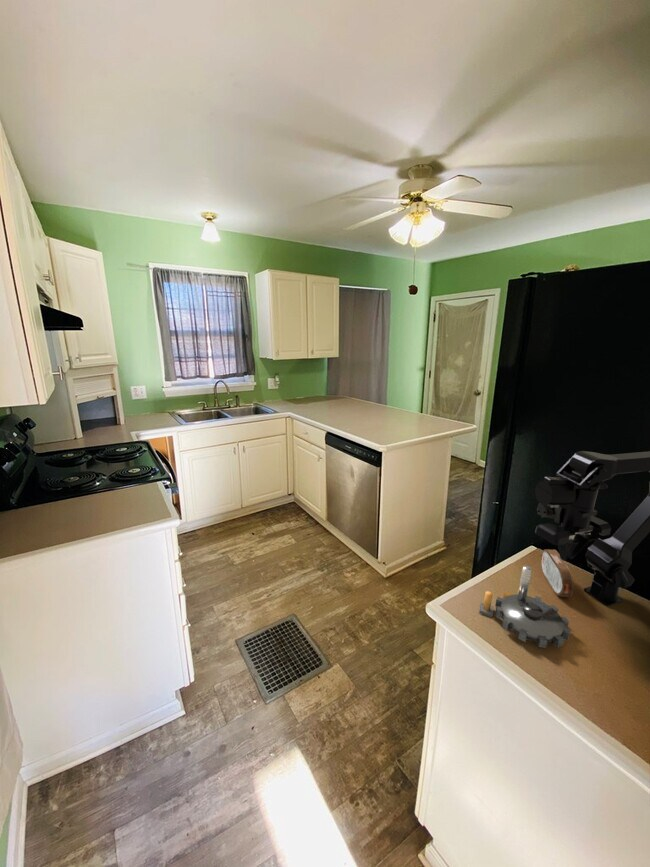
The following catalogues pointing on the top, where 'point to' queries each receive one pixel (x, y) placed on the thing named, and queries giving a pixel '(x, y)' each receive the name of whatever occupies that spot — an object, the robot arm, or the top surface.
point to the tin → (557, 573)
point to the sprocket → (531, 616)
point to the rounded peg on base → (487, 605)
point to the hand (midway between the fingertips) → (566, 558)
